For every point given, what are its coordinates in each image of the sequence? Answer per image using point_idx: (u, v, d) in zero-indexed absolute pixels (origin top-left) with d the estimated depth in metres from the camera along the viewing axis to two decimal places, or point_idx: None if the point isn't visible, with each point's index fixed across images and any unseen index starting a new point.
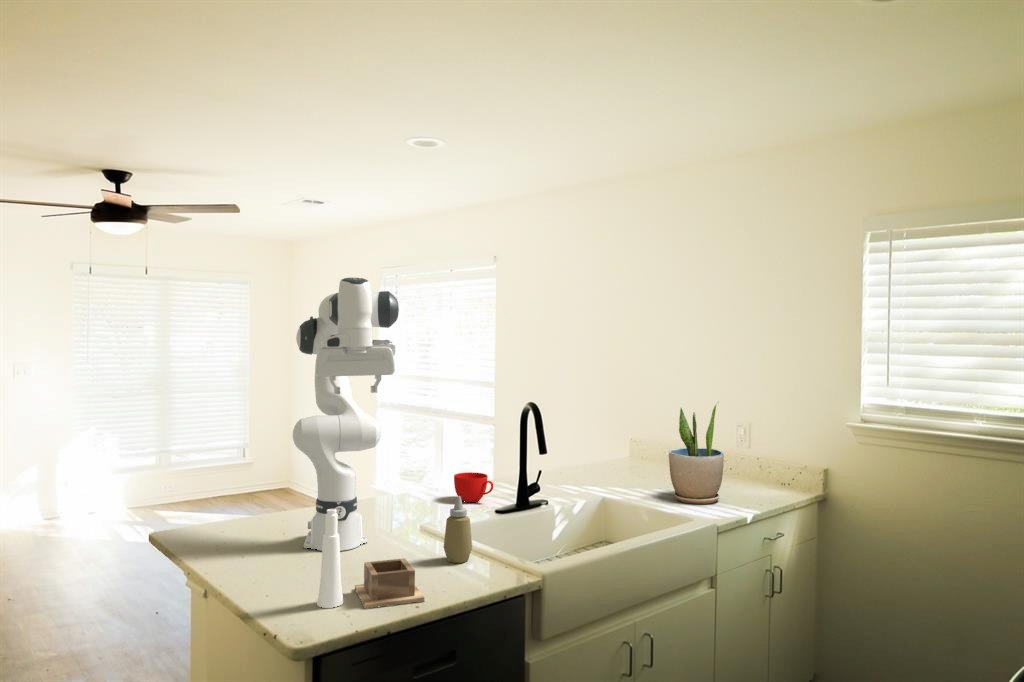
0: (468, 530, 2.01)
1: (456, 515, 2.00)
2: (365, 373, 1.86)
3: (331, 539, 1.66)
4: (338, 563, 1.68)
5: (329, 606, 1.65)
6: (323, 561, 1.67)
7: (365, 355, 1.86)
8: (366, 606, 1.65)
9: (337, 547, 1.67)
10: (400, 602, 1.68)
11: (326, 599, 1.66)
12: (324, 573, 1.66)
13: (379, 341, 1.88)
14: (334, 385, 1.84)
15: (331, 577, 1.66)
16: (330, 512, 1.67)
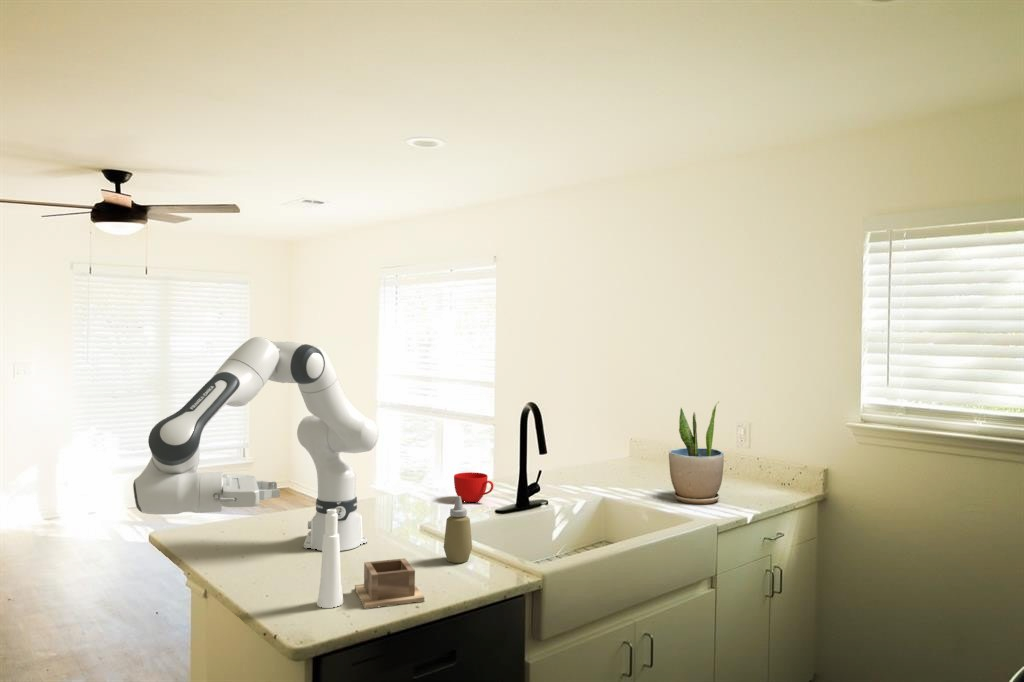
0: (468, 530, 2.01)
1: (456, 515, 2.00)
2: None
3: (331, 539, 1.66)
4: (338, 563, 1.68)
5: (329, 606, 1.65)
6: (323, 561, 1.67)
7: None
8: (366, 606, 1.65)
9: (337, 547, 1.67)
10: (400, 602, 1.68)
11: (326, 599, 1.66)
12: (324, 573, 1.66)
13: None
14: None
15: (331, 577, 1.66)
16: (330, 512, 1.67)
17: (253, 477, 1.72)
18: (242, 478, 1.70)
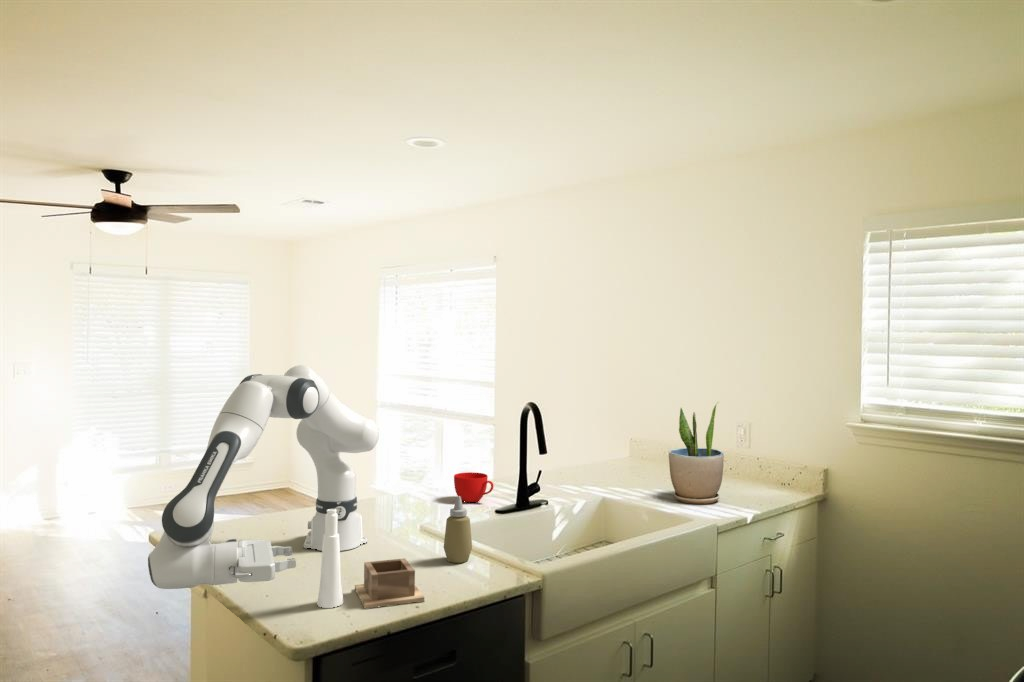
0: (468, 530, 2.01)
1: (456, 515, 2.00)
2: None
3: (331, 539, 1.66)
4: (338, 563, 1.68)
5: (329, 606, 1.65)
6: (323, 561, 1.67)
7: None
8: (366, 606, 1.65)
9: (337, 547, 1.67)
10: (400, 602, 1.68)
11: (326, 599, 1.66)
12: (324, 573, 1.66)
13: None
14: None
15: (331, 577, 1.66)
16: (330, 512, 1.67)
17: (268, 543, 1.70)
18: (257, 544, 1.68)
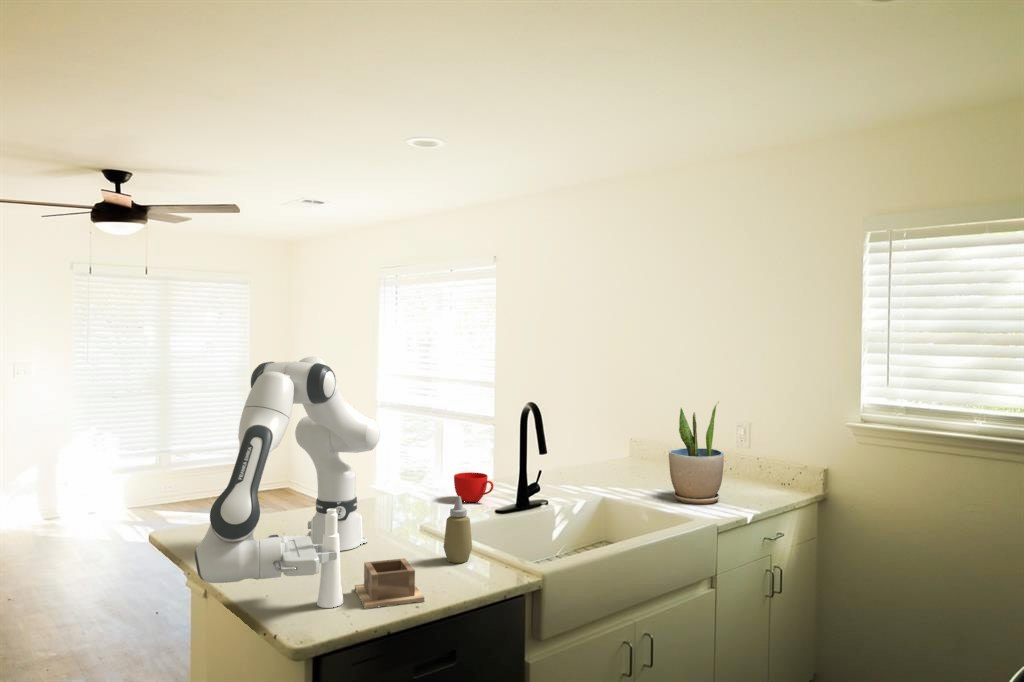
0: (468, 530, 2.01)
1: (456, 515, 2.00)
2: None
3: (331, 539, 1.67)
4: (338, 563, 1.68)
5: (329, 606, 1.65)
6: None
7: None
8: (366, 606, 1.65)
9: (337, 547, 1.67)
10: (400, 602, 1.68)
11: (326, 599, 1.66)
12: (324, 573, 1.66)
13: None
14: None
15: (331, 576, 1.66)
16: (330, 512, 1.67)
17: (309, 538, 1.73)
18: (298, 540, 1.71)
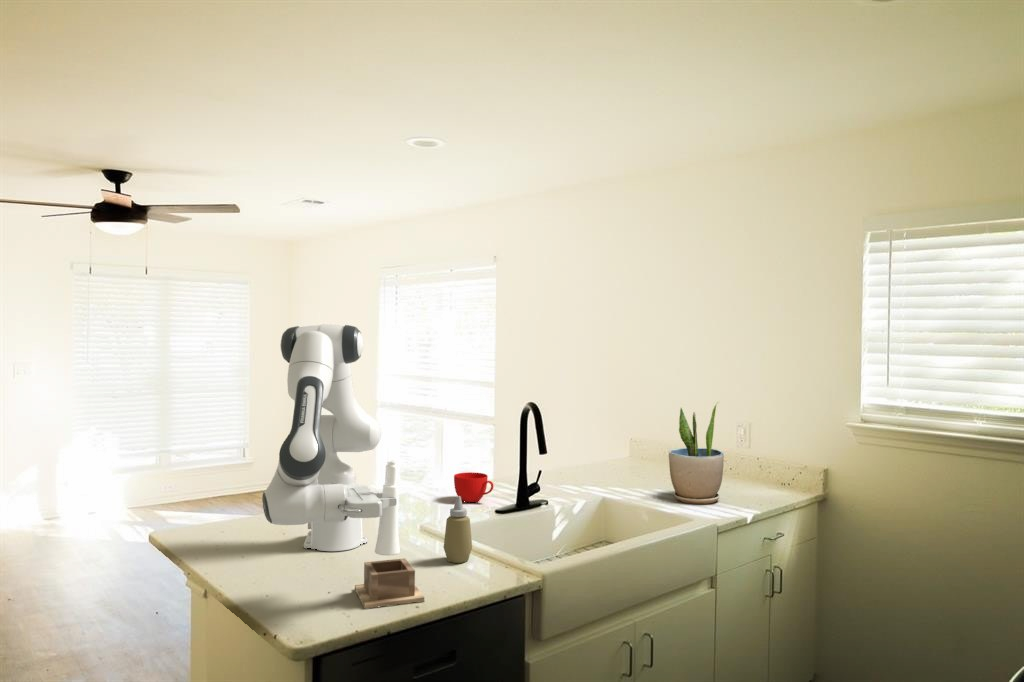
0: (468, 530, 2.01)
1: (456, 515, 2.00)
2: None
3: (390, 489, 1.73)
4: (396, 513, 1.74)
5: (387, 553, 1.71)
6: (382, 510, 1.73)
7: None
8: (366, 606, 1.65)
9: (396, 497, 1.73)
10: (400, 602, 1.68)
11: (384, 547, 1.72)
12: (383, 521, 1.72)
13: None
14: None
15: (389, 525, 1.72)
16: (390, 463, 1.73)
17: (367, 487, 1.79)
18: (357, 488, 1.77)
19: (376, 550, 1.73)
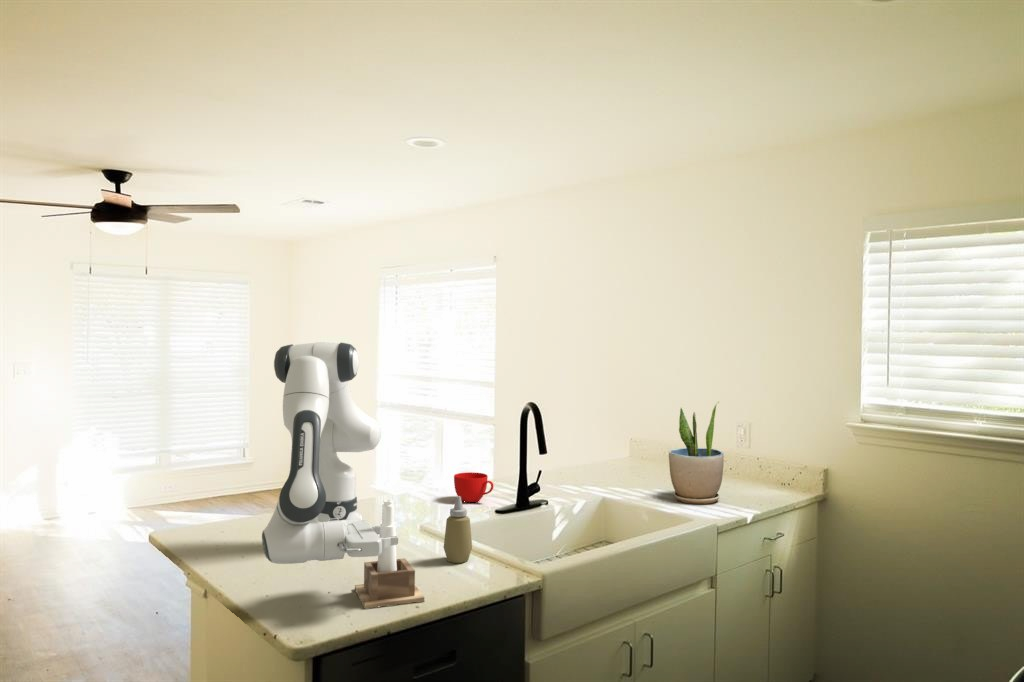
0: (468, 530, 2.01)
1: (456, 515, 2.00)
2: None
3: (387, 529, 1.72)
4: (394, 552, 1.73)
5: None
6: None
7: None
8: (366, 606, 1.65)
9: None
10: (400, 602, 1.68)
11: None
12: (381, 561, 1.72)
13: None
14: None
15: (388, 565, 1.72)
16: (387, 503, 1.73)
17: (366, 522, 1.79)
18: (357, 524, 1.77)
19: None
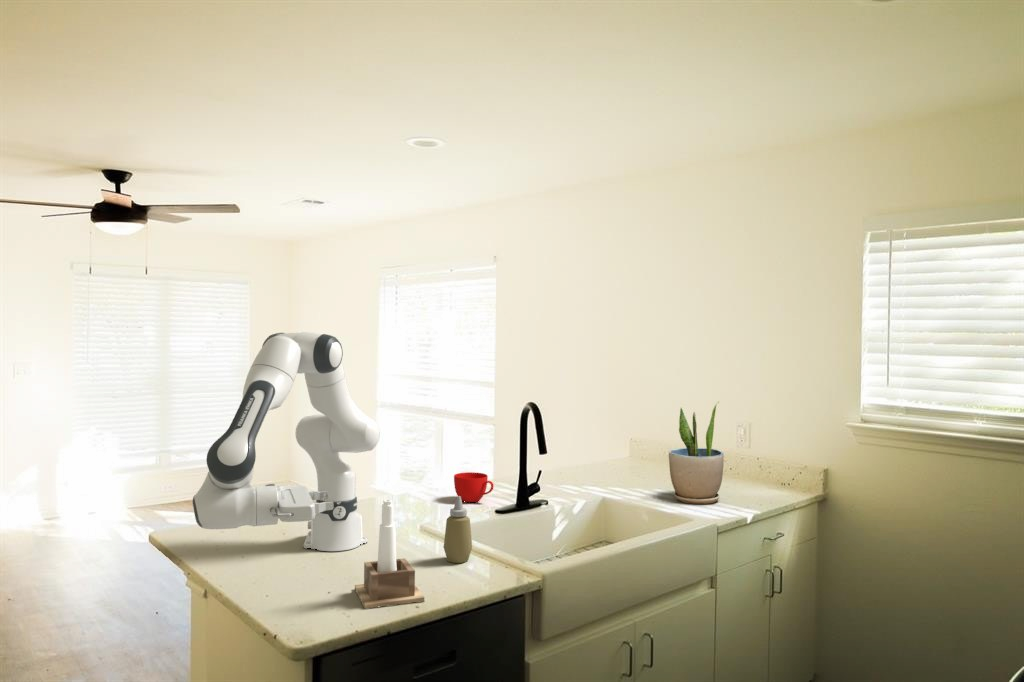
0: (468, 530, 2.01)
1: (456, 515, 2.00)
2: None
3: (387, 529, 1.72)
4: (394, 552, 1.73)
5: None
6: (380, 550, 1.73)
7: None
8: (366, 606, 1.65)
9: (393, 536, 1.73)
10: (400, 602, 1.68)
11: None
12: (381, 561, 1.72)
13: None
14: None
15: (387, 565, 1.72)
16: (386, 503, 1.73)
17: (305, 488, 1.76)
18: (294, 489, 1.74)
19: None
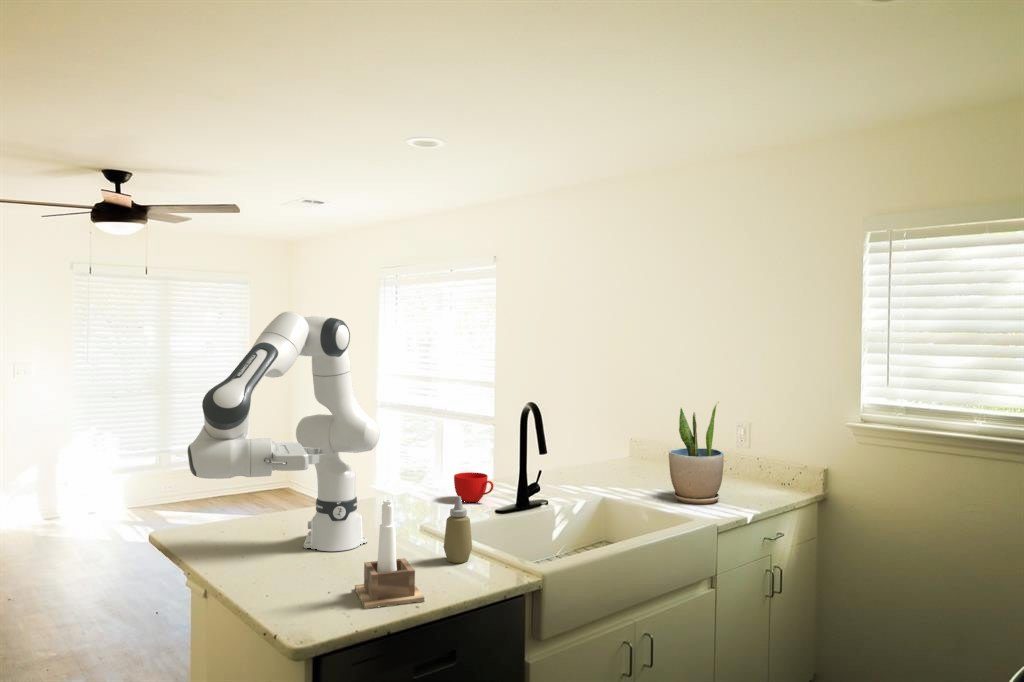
0: (468, 530, 2.01)
1: (456, 515, 2.00)
2: None
3: (387, 529, 1.72)
4: (394, 552, 1.73)
5: None
6: (380, 550, 1.73)
7: None
8: (366, 606, 1.65)
9: (393, 536, 1.73)
10: (400, 602, 1.68)
11: None
12: (381, 561, 1.72)
13: None
14: None
15: (387, 565, 1.72)
16: (386, 503, 1.73)
17: (299, 444, 1.78)
18: (289, 445, 1.76)
19: None
